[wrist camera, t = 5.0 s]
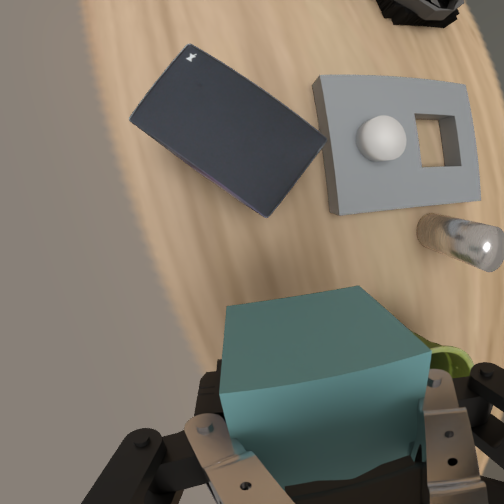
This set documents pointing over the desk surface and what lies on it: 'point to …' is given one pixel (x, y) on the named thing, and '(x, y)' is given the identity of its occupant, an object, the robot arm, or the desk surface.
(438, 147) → the desk surface
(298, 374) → the teal cube
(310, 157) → the small box
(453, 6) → the cpu cooler
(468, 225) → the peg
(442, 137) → the peg board
